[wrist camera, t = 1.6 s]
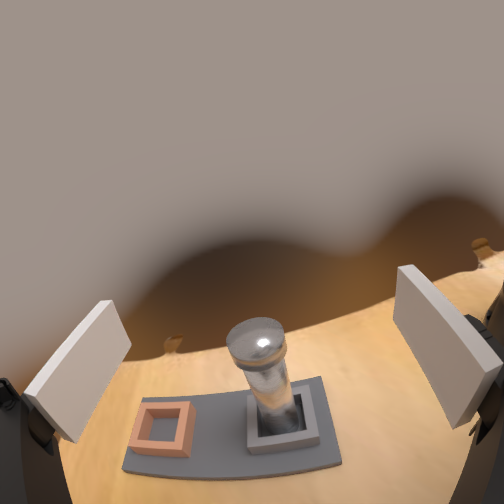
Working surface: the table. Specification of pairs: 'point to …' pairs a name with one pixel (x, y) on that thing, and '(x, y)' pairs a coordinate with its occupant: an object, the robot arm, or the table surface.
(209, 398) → the dock board
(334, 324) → the table surface
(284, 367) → the pin
